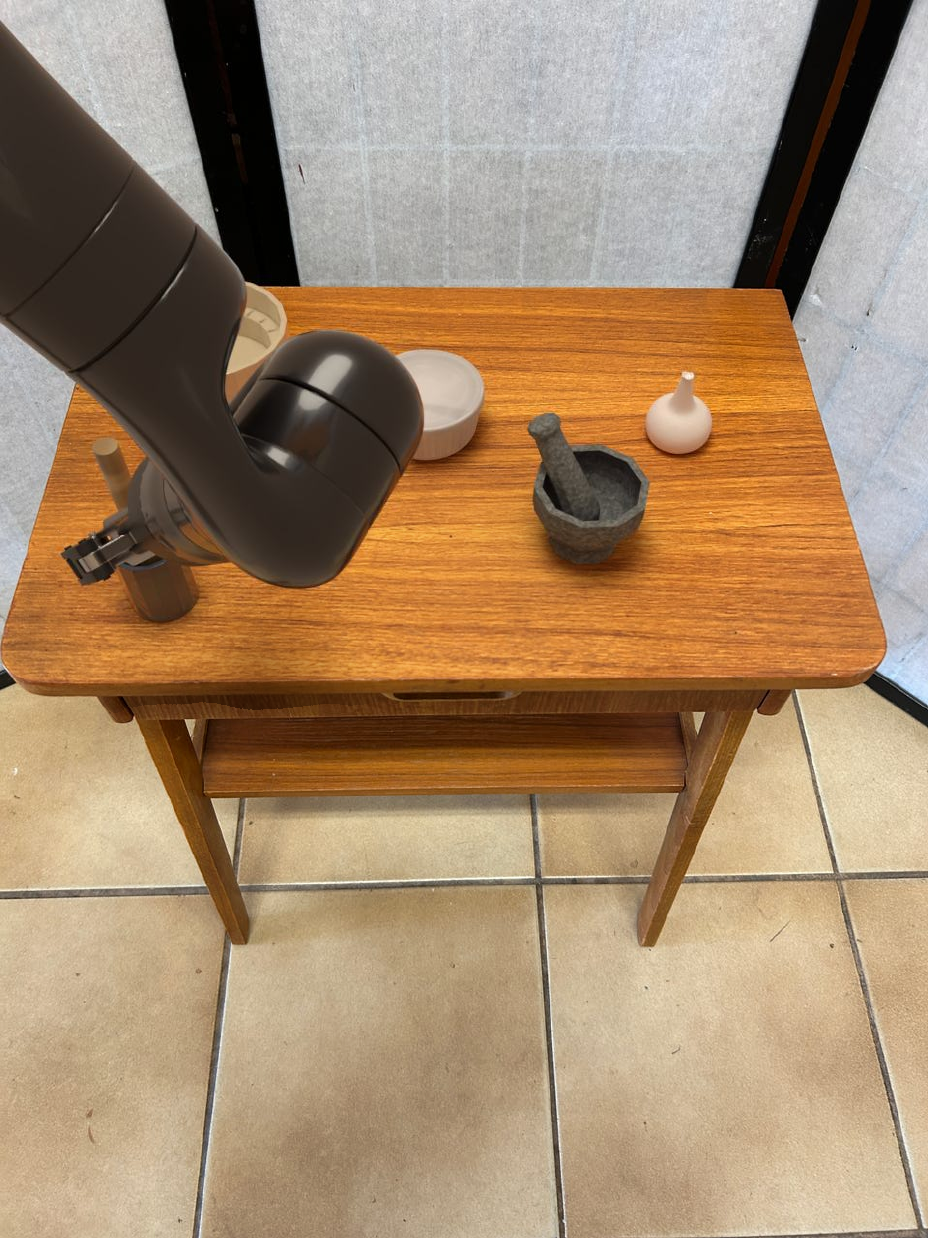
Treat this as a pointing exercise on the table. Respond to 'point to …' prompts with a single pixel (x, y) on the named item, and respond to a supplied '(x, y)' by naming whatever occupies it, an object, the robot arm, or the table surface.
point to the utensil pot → (159, 589)
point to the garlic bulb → (679, 419)
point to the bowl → (255, 337)
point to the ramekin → (445, 400)
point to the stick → (116, 476)
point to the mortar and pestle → (585, 494)
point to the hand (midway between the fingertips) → (152, 519)
